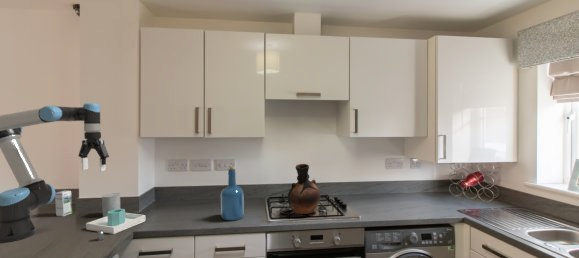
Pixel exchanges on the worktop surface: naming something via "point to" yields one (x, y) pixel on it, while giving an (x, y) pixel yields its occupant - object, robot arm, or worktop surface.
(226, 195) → the wine bottle
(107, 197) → the grey cylinder
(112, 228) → the tray
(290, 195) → the ceramic vessel
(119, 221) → the teal faceted pot
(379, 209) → the worktop surface
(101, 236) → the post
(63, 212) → the syrup box
